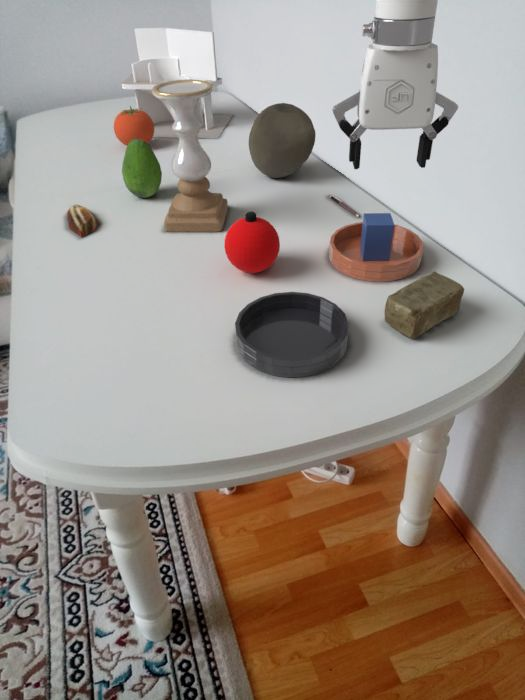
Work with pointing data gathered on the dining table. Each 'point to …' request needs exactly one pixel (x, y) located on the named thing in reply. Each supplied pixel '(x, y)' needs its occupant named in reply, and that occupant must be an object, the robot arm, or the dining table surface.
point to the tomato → (133, 126)
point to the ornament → (252, 244)
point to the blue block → (376, 236)
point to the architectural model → (174, 75)
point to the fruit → (141, 169)
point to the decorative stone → (81, 220)
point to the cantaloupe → (281, 140)
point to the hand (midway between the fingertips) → (388, 165)
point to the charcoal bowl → (291, 334)
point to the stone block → (423, 304)
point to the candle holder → (191, 162)
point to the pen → (343, 205)
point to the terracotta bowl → (351, 263)
